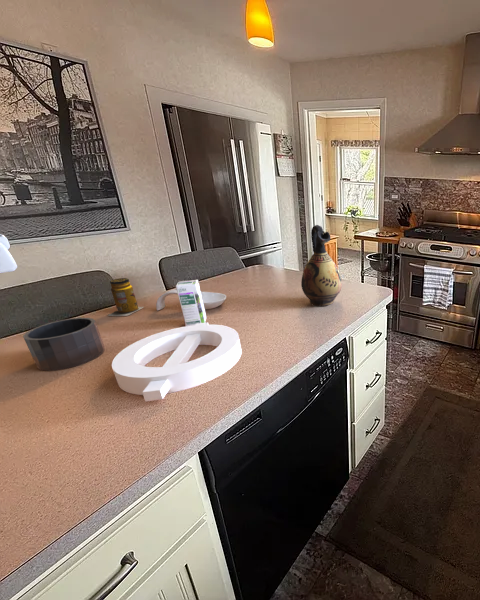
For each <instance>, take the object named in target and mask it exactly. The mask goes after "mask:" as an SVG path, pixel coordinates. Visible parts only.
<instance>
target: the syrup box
mask: <svg viewBox="0 0 480 600" xmlns="http://www.w3.org/2000/svg"><path fill="white" fill-rule="evenodd" d="M175 289H177V293H178V295H177V297H178V302H179V305H180V308H181V312H182V316H183V320H184V325H185V326H192V325H196V323H206V321H207V313H206V309H204V304H203V300H202V295H201V292H202V291H201V288H200V282H199V279H192V280H180V281H178V282H177V283H176V285H175Z"/></svg>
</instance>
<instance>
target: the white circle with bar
mask: <svg viewBox="0 0 480 600" xmlns="http://www.w3.org/2000/svg"><path fill="white" fill-rule="evenodd" d="M241 345H242V344H241V340H240V335H239V333H238V331H237V330H236V329H234V328H233V327H230V326H227V325H223V324H210V323H209V322H208V321H207V322H205V323H196V325H192V326H186V325H185V326H181V327H175V328H171V329H167V330H164V331H160V332H156V333H154V334H151V335H148V336H146V337H144V338H141V339H139V340H137V341H135V342H133V343H131V344H129V345H128V346H126V347H125V348H123V349H122V350H120V351H119V353H117V354H116V356H114V358H113V360H112V362H111V368H112V371H113V374H114V377H115V380H116V383H117V385H118V387H119V388H120V389H121V390H122V391H124V392H126V393H128V394H133V395H137V396H143V398H144V399H143V400H144V402H151V401H159V400H160V401H161V400H164V398H165V397H166V395H167V394H171V393H177V392H182V391H185V390H188V389H192V388H195V387H198V386H201V385H204V384H205V383H208V382H210V381H212V380H215V379H216V378H218V377H220V376H222V375H223V374H225V373H226V372H228V371H229V370H230V369H232V368H233V367H234V366H235V365H236V364H237V363H238V362H239V361H240V358H241V356H242V355H243V354H242V352H243V351H242V346H241ZM199 346H213V347H215V349H213V350H212V351H210V352H208V353H206V354H205V355H202V356H200V357H198V358H195V359H192V360H190V359H191V357H192V356H193V354H194V353H195V351H196V350H197V348H198V347H199ZM170 352H173V353H171V355H170V357H168V359H167V360H166V361H165V362H164V364H163V365H162V366H146V365H147V364H148V363H150V362H151V361H153V360H154V359H157V358H158V357H160V356H162V355H165V354H167V353H170Z"/></svg>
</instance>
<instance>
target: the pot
mask: <svg viewBox="0 0 480 600" xmlns="http://www.w3.org/2000/svg"><path fill="white" fill-rule="evenodd" d="M98 327H99V326H98V324H97V322H96V320H95V319H94V318H92V317H73V318H66V319H60V320H56V321H52V322H48V323H44V324H41V325H39V326H37V327H34V328H32V329H30V330H28V331H26V332H25V333H24V334H23V336H22V337H23V340H24V342H25V345H26V346H27V348H28V351H29V353H30V355H31V357H32V360H33V362H34V364H35V366H36V368H37V369H38V370H40V371H43V372H57V371H62V370H67V369H70V368H75V367H79V366H82V365H84V364H87V363H89V362H92V361H93V360H95V359H97V358H99V357H100V356H102V355H103V354H104V353H105V352H106V347H105V343H104V341H103V339H102V335H101V333H100V330H99V328H98Z"/></svg>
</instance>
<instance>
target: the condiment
mask: <svg viewBox="0 0 480 600" xmlns="http://www.w3.org/2000/svg"><path fill="white" fill-rule="evenodd" d="M109 284H110V287H111V288H110V291H111V295H112V298H113V301H114V304H115V307H116V311H113V312H112V313H108V314H107V316H109V317H128V316H131V315H133V314H134V313H137V312H138V311H141V310H142V309H143V308H145V306H139V304H138V301H137V298H136V294H135V291H134V287H133V285H131V282H130V279H129V278H127V277H121V278H115V279H111V280H110V281H109Z"/></svg>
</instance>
